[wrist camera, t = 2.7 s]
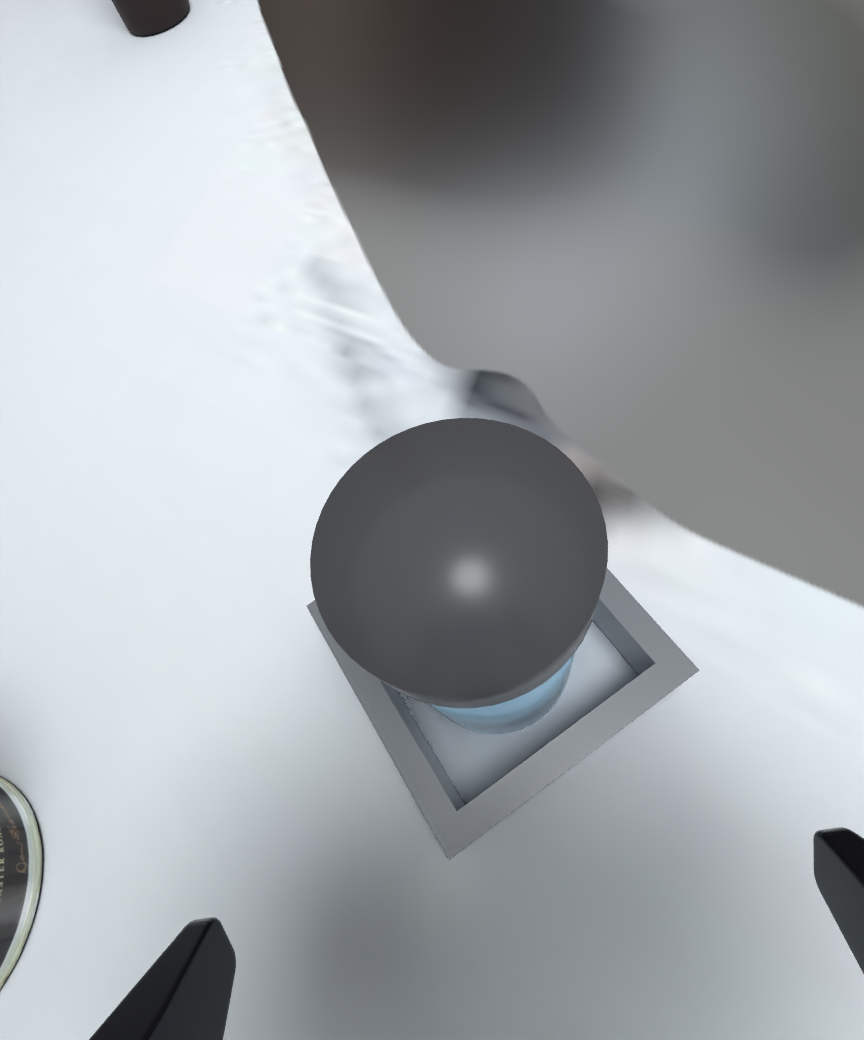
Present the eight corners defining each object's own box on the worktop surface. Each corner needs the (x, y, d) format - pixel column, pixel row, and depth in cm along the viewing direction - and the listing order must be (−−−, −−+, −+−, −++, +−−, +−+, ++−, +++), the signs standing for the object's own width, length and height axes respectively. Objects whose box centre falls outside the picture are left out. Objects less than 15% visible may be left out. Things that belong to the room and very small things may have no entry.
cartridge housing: (460, 850, 20) (448, 860, 18) (331, 624, 25) (306, 606, 22) (679, 684, 22) (699, 670, 19) (516, 497, 26) (514, 465, 23)
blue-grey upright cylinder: (472, 775, 21) (406, 768, 11) (384, 634, 24) (264, 518, 14) (611, 672, 22) (677, 569, 11) (509, 547, 25) (486, 374, 15)
